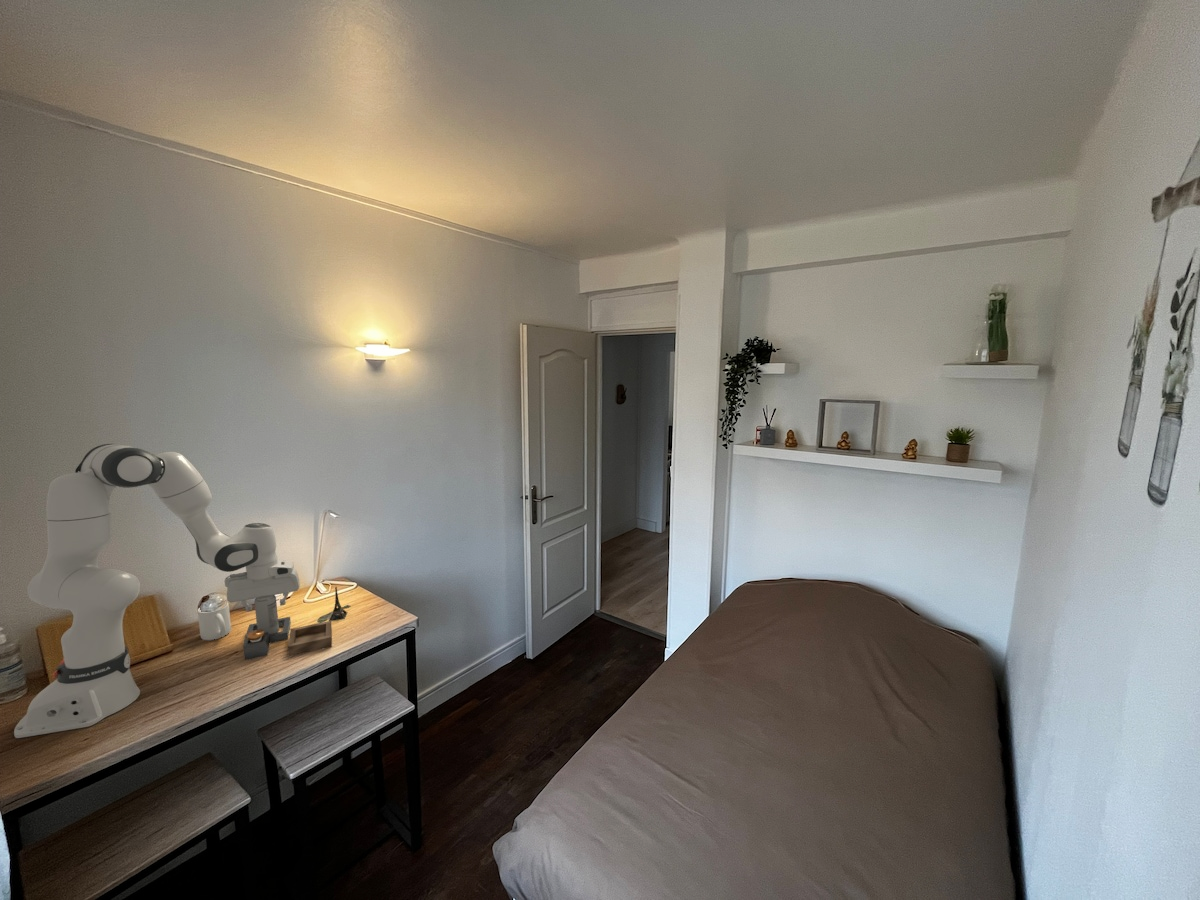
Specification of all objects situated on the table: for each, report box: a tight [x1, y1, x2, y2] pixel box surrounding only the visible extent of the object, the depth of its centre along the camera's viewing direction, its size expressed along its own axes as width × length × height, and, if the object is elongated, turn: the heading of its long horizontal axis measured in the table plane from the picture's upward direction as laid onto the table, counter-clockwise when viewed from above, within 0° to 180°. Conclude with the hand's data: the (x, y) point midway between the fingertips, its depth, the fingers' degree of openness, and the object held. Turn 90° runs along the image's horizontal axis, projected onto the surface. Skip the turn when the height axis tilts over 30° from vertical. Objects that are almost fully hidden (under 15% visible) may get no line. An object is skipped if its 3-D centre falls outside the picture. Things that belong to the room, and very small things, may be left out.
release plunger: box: [247, 629, 264, 643], centre depth 152 cm, size 4×4×6 cm
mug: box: [197, 600, 232, 641], centre depth 161 cm, size 12×8×10 cm
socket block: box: [242, 616, 292, 661], centre depth 159 cm, size 12×20×5 cm, turn 29°
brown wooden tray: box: [287, 620, 333, 658], centre depth 159 cm, size 12×12×4 cm
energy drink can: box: [254, 595, 280, 634], centre depth 162 cm, size 6×6×15 cm
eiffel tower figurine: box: [316, 586, 352, 623], centre depth 176 cm, size 15×10×13 cm
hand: (266, 607), depth 162 cm, fingers open, 8 cm apart
